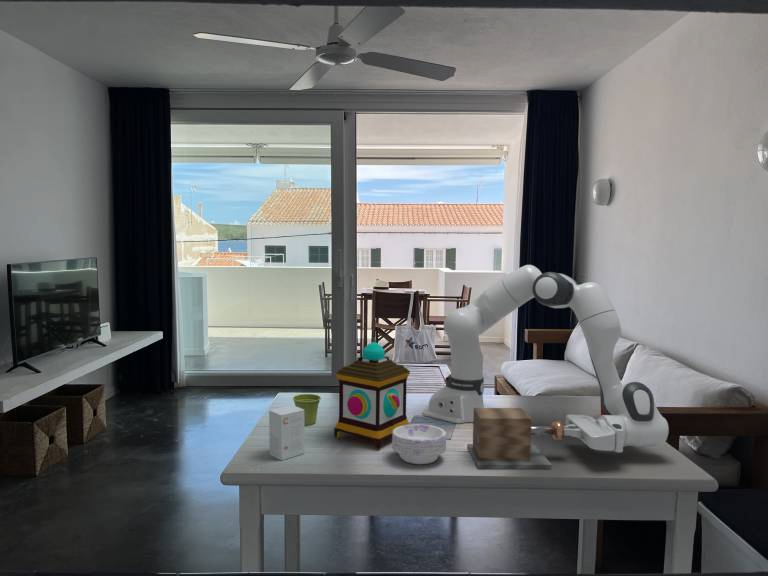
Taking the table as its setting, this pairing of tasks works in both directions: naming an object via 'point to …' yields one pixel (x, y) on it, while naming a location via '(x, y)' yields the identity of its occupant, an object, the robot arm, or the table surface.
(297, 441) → the small box
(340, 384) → the decorative lantern
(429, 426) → the paper bowls
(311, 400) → the plant pot
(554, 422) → the plunger
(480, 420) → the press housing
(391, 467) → the table surface
